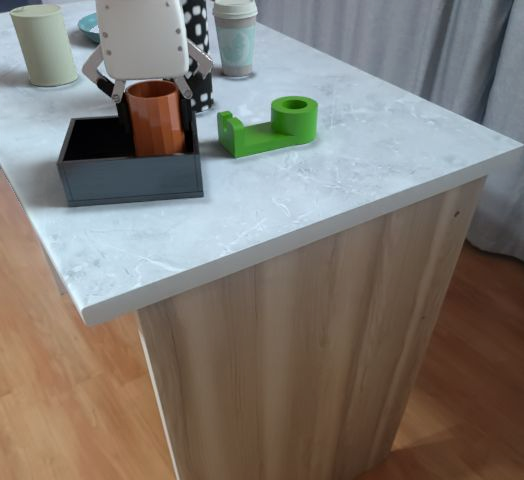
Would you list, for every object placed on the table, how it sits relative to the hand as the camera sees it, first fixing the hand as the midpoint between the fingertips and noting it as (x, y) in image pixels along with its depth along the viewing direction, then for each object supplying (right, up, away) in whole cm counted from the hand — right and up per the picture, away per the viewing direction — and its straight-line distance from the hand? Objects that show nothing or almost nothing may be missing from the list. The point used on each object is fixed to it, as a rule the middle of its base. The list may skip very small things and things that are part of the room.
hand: (157, 127), depth 69 cm
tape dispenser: (+15, +3, +11) cm, 19 cm away
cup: (0, -3, +3) cm, 4 cm away
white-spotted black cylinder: (+1, +14, +22) cm, 26 cm away
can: (-27, +24, +33) cm, 48 cm away
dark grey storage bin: (-3, -5, +3) cm, 7 cm away
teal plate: (-17, +45, +54) cm, 73 cm away
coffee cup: (+9, +26, +34) cm, 44 cm away
